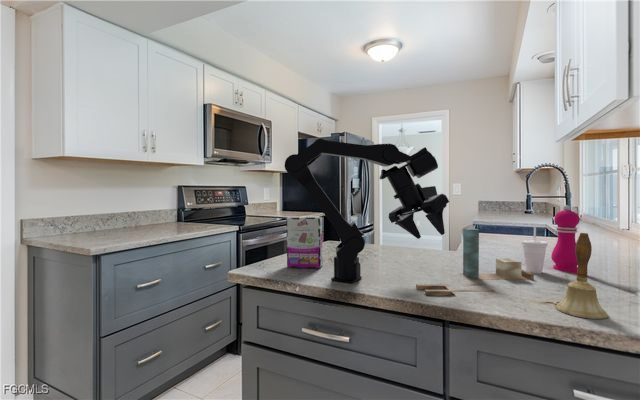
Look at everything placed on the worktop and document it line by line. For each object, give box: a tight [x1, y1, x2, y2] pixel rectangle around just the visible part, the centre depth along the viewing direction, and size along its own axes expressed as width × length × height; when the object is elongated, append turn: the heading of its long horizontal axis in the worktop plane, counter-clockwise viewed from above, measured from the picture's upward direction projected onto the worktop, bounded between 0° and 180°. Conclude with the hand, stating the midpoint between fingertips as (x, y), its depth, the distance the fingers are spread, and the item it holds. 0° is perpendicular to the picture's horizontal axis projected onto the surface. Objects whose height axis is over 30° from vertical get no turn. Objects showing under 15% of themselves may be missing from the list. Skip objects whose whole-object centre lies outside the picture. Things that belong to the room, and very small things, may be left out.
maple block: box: [495, 257, 522, 279], centre depth 91 cm, size 4×4×4 cm
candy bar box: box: [285, 215, 324, 269], centre depth 109 cm, size 11×5×16 cm, turn 80°
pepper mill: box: [550, 204, 580, 275], centre depth 99 cm, size 7×7×20 cm
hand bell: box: [555, 232, 609, 320], centre depth 67 cm, size 8×8×16 cm
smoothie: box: [521, 226, 548, 274], centre depth 96 cm, size 6×6×14 cm
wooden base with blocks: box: [458, 227, 535, 281], centre depth 91 cm, size 17×6×14 cm, turn 87°
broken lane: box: [415, 282, 496, 297], centre depth 82 cm, size 18×7×1 cm, turn 87°
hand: (430, 236), depth 92 cm, fingers open, 9 cm apart
